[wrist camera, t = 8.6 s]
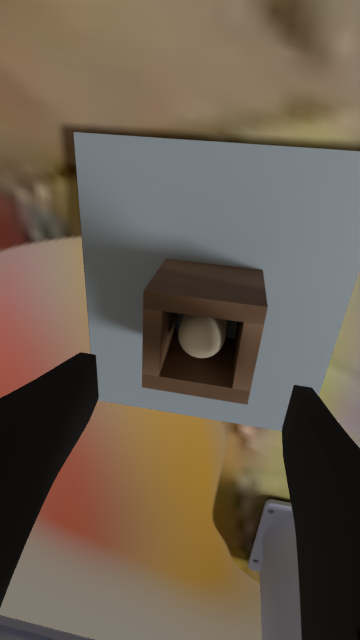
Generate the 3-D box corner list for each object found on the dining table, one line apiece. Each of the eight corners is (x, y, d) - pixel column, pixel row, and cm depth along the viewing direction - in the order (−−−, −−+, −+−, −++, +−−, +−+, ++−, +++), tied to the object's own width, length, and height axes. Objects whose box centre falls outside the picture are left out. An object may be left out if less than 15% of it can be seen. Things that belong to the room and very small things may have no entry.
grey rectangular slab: (303, 421, 23) (317, 493, 18) (101, 388, 24) (66, 446, 20) (386, 152, 15) (448, 158, 10) (84, 132, 17) (22, 129, 12)
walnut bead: (247, 352, 19) (247, 404, 16) (161, 340, 20) (141, 387, 16) (262, 270, 17) (267, 307, 13) (165, 258, 18) (143, 290, 14)
